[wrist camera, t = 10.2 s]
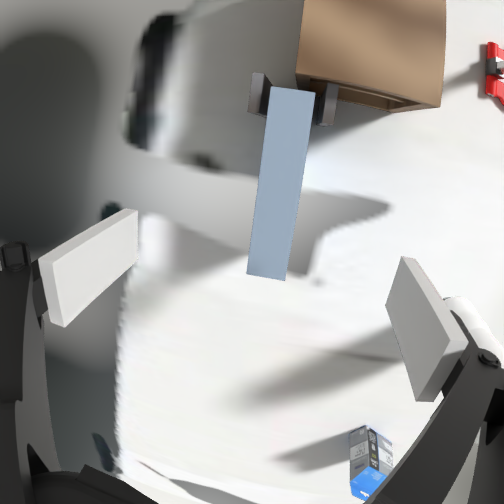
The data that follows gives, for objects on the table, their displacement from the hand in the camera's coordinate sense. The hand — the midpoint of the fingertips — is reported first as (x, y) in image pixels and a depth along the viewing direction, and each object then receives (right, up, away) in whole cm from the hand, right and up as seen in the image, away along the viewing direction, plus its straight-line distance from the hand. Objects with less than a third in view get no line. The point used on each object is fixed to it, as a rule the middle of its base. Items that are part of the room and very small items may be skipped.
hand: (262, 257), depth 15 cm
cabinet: (+8, +20, +12) cm, 25 cm away
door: (+3, +9, +17) cm, 19 cm away
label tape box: (+20, -32, +31) cm, 48 cm away
